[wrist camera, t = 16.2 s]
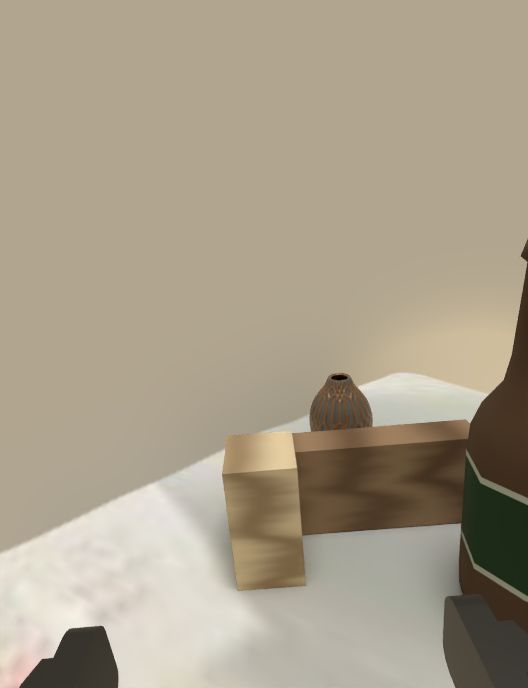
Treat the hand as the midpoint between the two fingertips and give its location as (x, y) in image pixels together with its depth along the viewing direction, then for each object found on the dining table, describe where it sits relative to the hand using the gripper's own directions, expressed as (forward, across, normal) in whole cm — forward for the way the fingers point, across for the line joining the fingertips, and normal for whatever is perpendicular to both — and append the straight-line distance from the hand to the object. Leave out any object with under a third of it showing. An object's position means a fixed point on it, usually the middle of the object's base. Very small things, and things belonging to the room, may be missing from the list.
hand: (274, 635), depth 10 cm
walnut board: (+23, -6, +18) cm, 29 cm away
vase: (+34, -7, +18) cm, 39 cm away
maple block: (+19, +1, +17) cm, 26 cm away
